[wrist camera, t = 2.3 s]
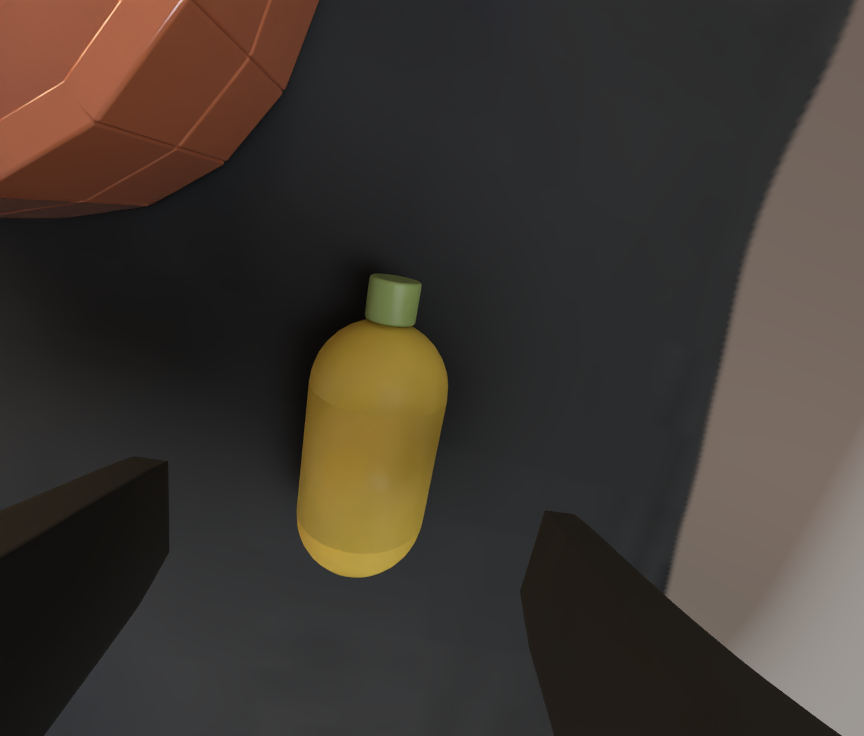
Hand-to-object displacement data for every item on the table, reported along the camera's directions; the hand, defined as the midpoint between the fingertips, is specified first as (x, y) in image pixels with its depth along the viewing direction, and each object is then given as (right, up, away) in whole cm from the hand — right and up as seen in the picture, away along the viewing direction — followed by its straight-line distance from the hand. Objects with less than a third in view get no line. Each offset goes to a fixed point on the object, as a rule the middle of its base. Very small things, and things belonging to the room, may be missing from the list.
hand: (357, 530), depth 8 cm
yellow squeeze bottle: (0, +1, +5) cm, 5 cm away
